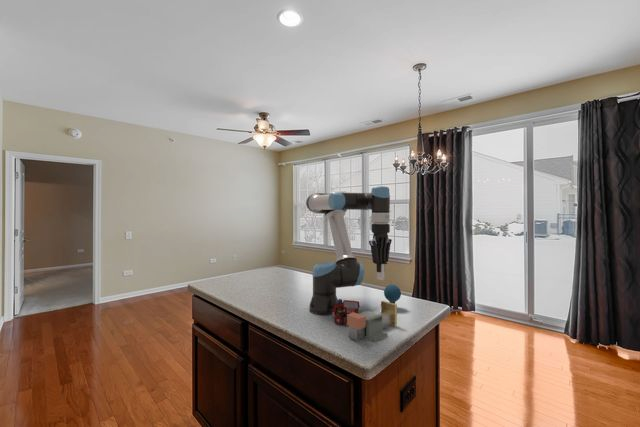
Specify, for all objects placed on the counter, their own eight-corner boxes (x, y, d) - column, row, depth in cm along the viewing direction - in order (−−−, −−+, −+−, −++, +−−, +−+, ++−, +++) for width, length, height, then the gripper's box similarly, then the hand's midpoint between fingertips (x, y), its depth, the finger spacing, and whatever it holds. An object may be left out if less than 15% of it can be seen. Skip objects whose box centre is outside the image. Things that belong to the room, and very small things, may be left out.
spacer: (358, 329, 106) (358, 318, 106) (347, 324, 110) (346, 314, 110) (365, 326, 108) (365, 316, 108) (353, 322, 113) (353, 312, 113)
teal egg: (401, 311, 139) (401, 287, 139) (384, 310, 140) (384, 286, 140) (400, 306, 147) (400, 283, 147) (383, 305, 149) (383, 282, 149)
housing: (374, 341, 106) (374, 322, 106) (349, 331, 116) (349, 313, 116) (387, 335, 112) (387, 317, 112) (362, 326, 121) (362, 309, 121)
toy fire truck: (335, 318, 131) (335, 295, 131) (361, 322, 125) (361, 299, 125) (329, 323, 124) (329, 299, 124) (357, 328, 119) (356, 303, 119)
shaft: (359, 342, 105) (359, 318, 105) (346, 336, 110) (346, 313, 110) (396, 325, 121) (396, 304, 121) (383, 320, 126) (383, 300, 126)
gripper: (378, 224, 112) (378, 283, 112) (397, 223, 121) (397, 278, 121) (363, 223, 118) (363, 280, 118) (382, 222, 127) (382, 275, 126)
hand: (380, 279), depth 119 cm, fingers closed
